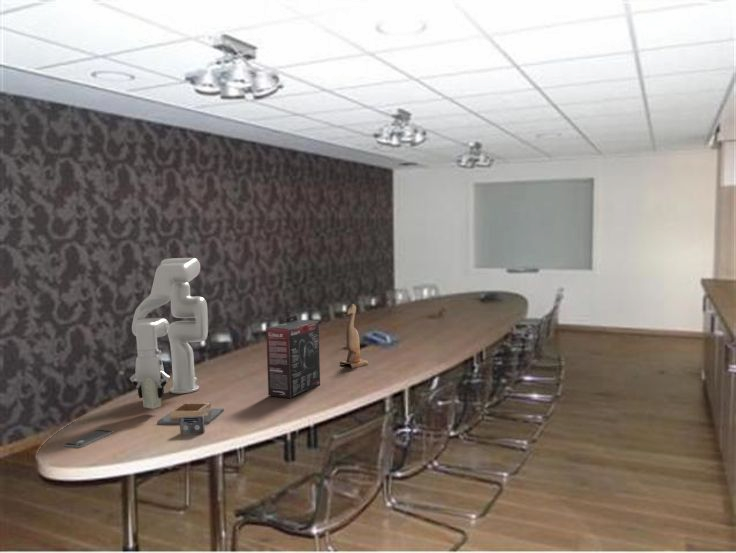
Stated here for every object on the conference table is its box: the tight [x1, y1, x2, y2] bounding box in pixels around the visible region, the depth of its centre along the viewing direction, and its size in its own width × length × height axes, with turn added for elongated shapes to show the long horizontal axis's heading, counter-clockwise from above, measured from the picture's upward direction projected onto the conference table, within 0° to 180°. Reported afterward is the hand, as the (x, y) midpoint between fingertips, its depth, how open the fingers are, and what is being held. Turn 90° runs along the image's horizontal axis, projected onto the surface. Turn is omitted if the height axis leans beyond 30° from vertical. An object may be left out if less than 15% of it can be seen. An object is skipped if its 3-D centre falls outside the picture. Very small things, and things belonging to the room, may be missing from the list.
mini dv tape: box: [179, 416, 206, 435], centre depth 216 cm, size 8×2×6 cm, turn 88°
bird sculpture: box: [339, 303, 369, 369], centre depth 313 cm, size 11×12×32 cm
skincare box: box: [141, 378, 163, 409], centre depth 241 cm, size 6×4×12 cm
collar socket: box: [156, 402, 225, 425], centre depth 235 cm, size 16×20×4 cm
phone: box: [64, 429, 114, 449], centre depth 214 cm, size 8×1×16 cm
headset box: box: [265, 315, 321, 399], centre depth 267 cm, size 24×13×33 cm, turn 154°
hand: (151, 396), depth 241 cm, fingers closed on skincare box, 7 cm apart
